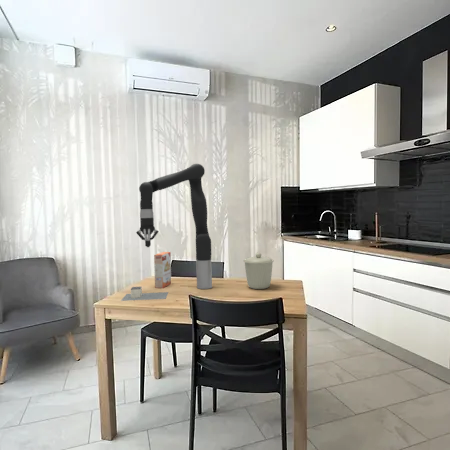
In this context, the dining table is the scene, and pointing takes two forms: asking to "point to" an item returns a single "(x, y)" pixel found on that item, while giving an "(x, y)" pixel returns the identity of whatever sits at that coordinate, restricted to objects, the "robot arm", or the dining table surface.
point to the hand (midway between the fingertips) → (148, 247)
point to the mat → (147, 296)
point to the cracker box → (162, 269)
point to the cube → (136, 292)
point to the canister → (258, 271)
